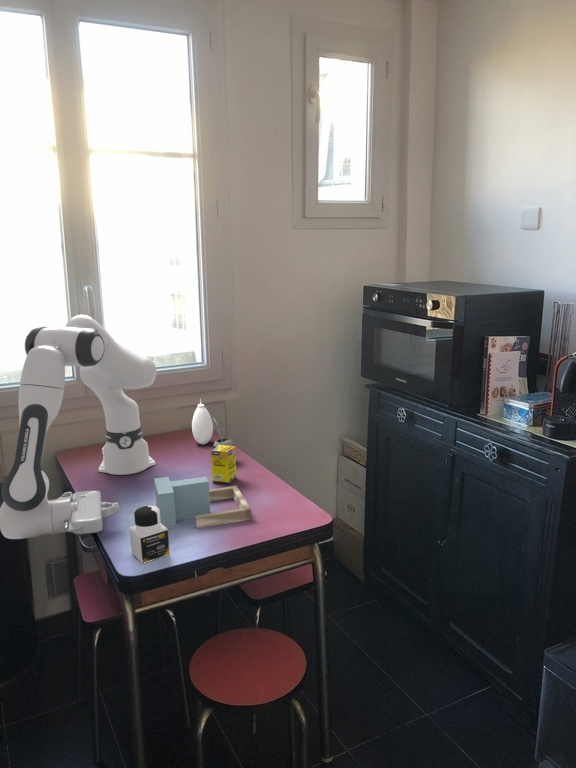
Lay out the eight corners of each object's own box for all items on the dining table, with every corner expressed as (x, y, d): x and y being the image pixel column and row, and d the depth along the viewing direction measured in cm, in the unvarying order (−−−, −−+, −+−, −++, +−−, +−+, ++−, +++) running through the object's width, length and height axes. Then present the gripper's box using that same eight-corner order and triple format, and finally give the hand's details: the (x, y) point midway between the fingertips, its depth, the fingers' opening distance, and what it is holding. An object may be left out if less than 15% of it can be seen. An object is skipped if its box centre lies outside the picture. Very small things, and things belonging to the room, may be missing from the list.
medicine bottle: (142, 564, 148) (138, 517, 146) (131, 553, 154) (126, 508, 151) (170, 555, 152) (166, 509, 150) (158, 544, 158) (154, 500, 155)
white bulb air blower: (212, 446, 233) (209, 400, 229) (191, 447, 233) (188, 400, 229) (214, 440, 240) (212, 394, 236) (194, 440, 240) (191, 395, 236)
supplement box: (229, 485, 195) (227, 451, 193) (212, 483, 197) (210, 450, 195) (237, 478, 201) (235, 445, 199) (220, 476, 203) (218, 444, 200)
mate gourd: (231, 466, 212) (229, 424, 208) (209, 465, 213) (206, 423, 210) (237, 458, 219) (234, 417, 215) (215, 458, 220) (212, 417, 217)
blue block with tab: (156, 511, 178) (154, 478, 176) (205, 504, 182) (203, 471, 179) (161, 529, 167) (158, 494, 164) (213, 521, 171) (211, 486, 168)
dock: (186, 502, 183) (186, 493, 182) (236, 495, 187) (236, 485, 187) (196, 528, 166) (196, 518, 166) (251, 519, 171) (250, 509, 170)
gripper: (62, 520, 154) (120, 511, 158) (65, 490, 173) (116, 482, 177) (65, 543, 155) (122, 534, 159) (67, 511, 174) (118, 503, 178)
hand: (119, 507), depth 168 cm, fingers closed
